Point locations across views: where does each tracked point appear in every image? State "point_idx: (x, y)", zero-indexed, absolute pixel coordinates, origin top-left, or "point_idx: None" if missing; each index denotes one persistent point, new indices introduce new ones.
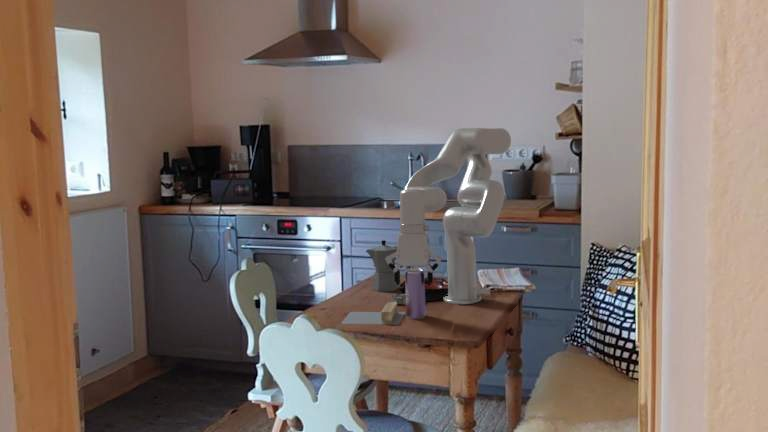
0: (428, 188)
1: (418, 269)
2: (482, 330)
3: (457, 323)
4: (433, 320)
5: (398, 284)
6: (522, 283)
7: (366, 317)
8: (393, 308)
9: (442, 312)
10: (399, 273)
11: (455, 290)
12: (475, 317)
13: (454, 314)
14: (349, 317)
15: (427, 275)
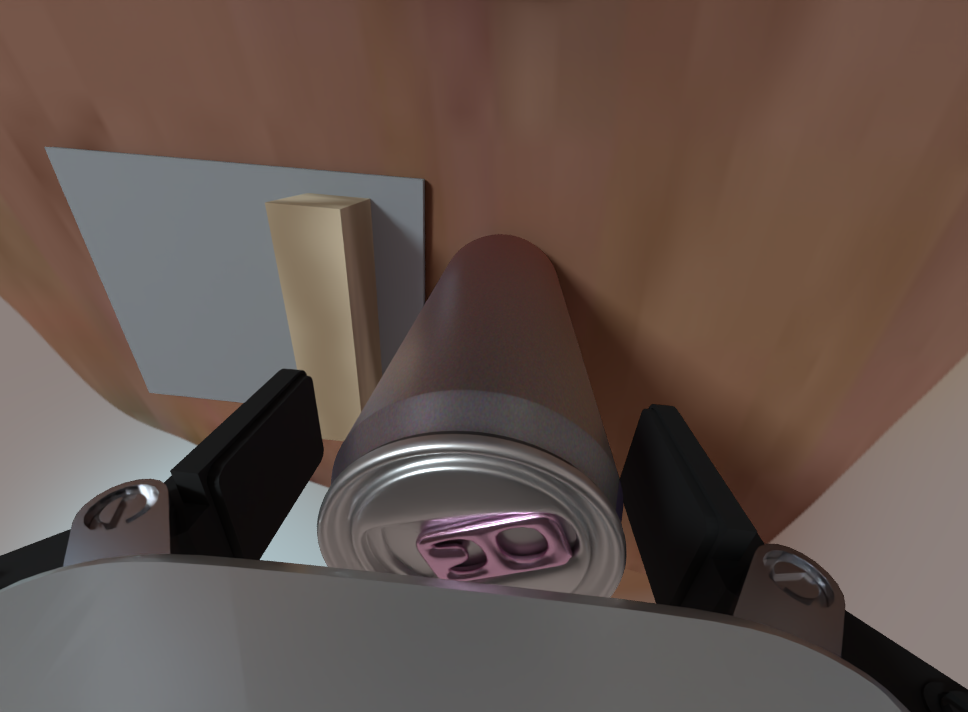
0: None
1: (537, 462)
2: (791, 506)
3: (714, 409)
4: (597, 350)
5: (319, 454)
6: None
7: (218, 294)
8: (357, 364)
9: (688, 165)
10: (246, 491)
11: None
12: (866, 310)
13: (758, 228)
14: (124, 287)
15: (651, 584)
